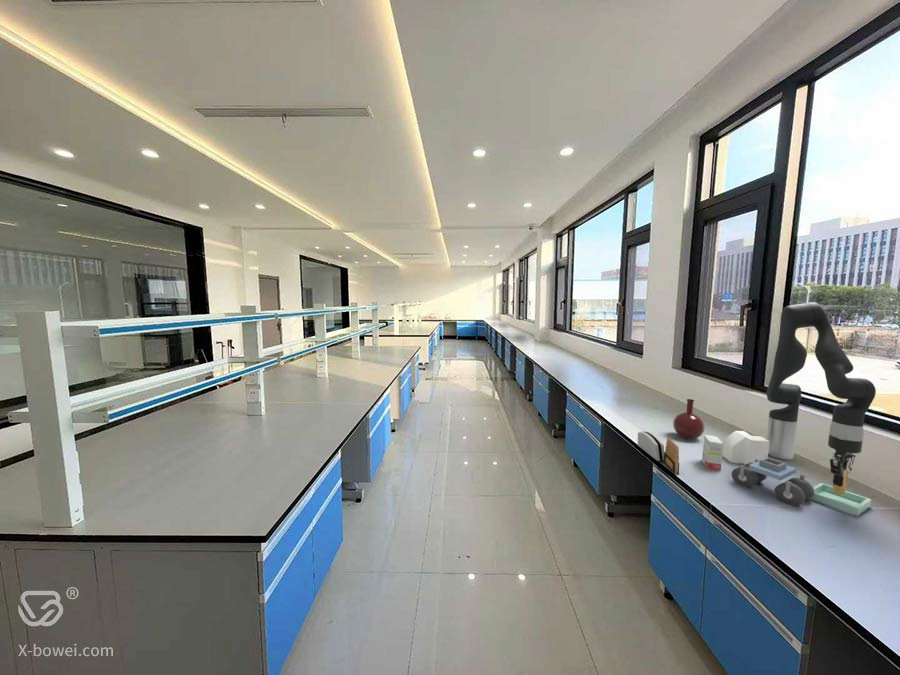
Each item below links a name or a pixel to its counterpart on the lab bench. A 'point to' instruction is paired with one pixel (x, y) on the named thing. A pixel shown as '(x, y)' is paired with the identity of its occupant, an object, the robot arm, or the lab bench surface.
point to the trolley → (786, 492)
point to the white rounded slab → (651, 445)
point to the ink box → (712, 452)
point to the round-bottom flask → (688, 423)
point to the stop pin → (842, 489)
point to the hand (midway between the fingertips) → (839, 484)
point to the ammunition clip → (672, 456)
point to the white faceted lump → (744, 447)
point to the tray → (840, 500)
